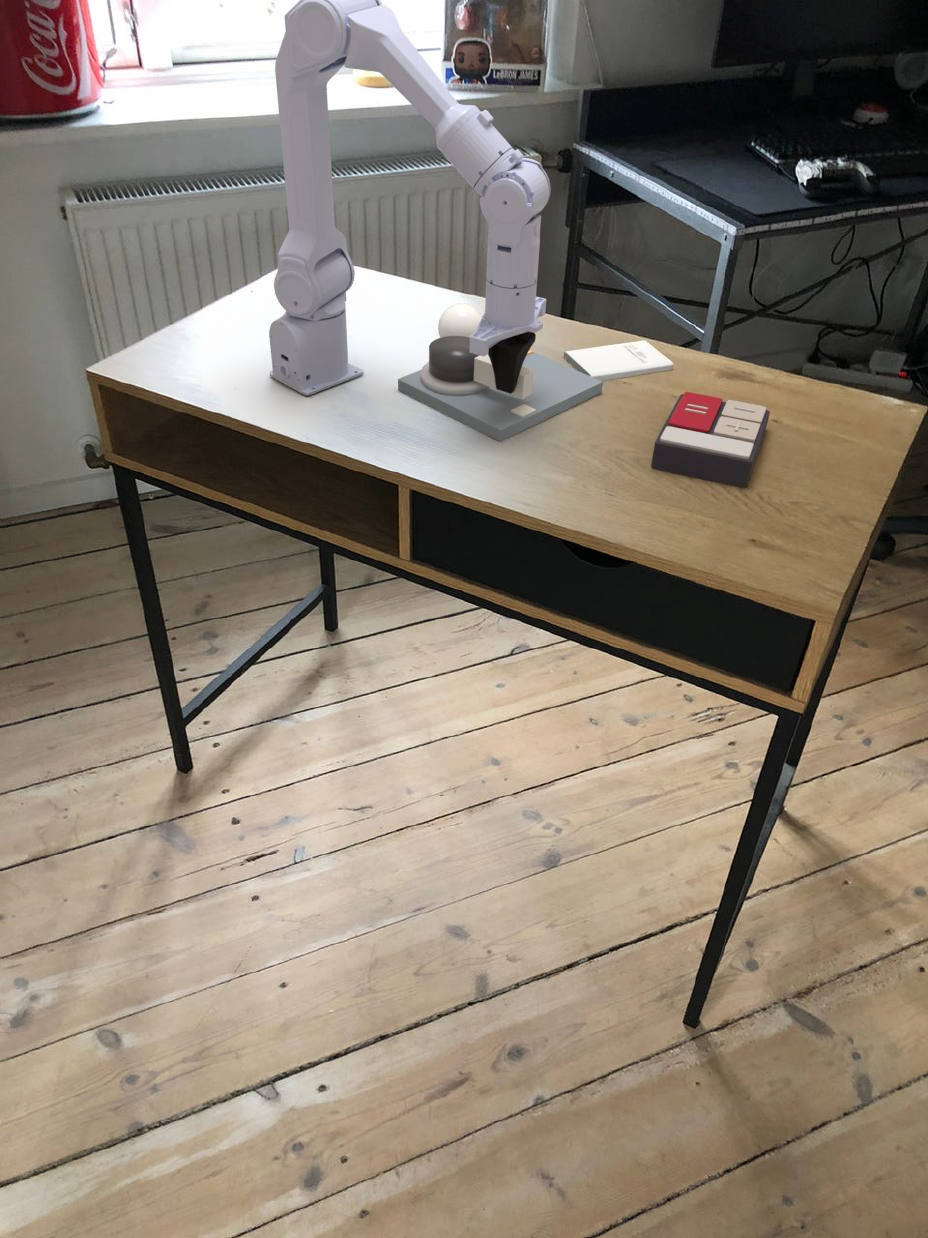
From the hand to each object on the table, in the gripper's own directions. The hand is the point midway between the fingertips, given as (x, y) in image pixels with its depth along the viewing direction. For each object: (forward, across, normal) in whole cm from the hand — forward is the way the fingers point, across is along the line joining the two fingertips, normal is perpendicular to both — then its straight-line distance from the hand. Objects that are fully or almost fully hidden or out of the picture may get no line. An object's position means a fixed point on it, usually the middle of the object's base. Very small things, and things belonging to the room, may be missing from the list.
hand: (505, 390), depth 124 cm
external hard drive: (+4, +22, -5) cm, 23 cm away
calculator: (+4, +7, -24) cm, 25 cm away
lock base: (+4, +6, +4) cm, 8 cm away
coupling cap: (+1, +3, +5) cm, 6 cm away
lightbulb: (+2, +19, +20) cm, 28 cm away
